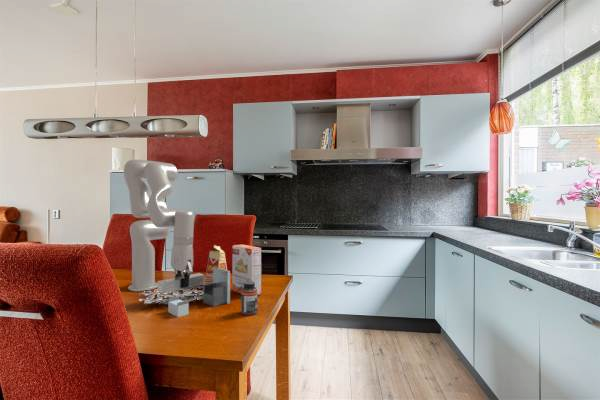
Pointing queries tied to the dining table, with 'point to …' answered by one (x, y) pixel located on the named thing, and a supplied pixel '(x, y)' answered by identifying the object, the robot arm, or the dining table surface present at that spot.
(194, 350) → the dining table surface
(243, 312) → the supplement bottle
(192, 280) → the rail
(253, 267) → the cracker box
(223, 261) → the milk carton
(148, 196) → the robot arm
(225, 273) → the cup bracket
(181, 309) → the block
